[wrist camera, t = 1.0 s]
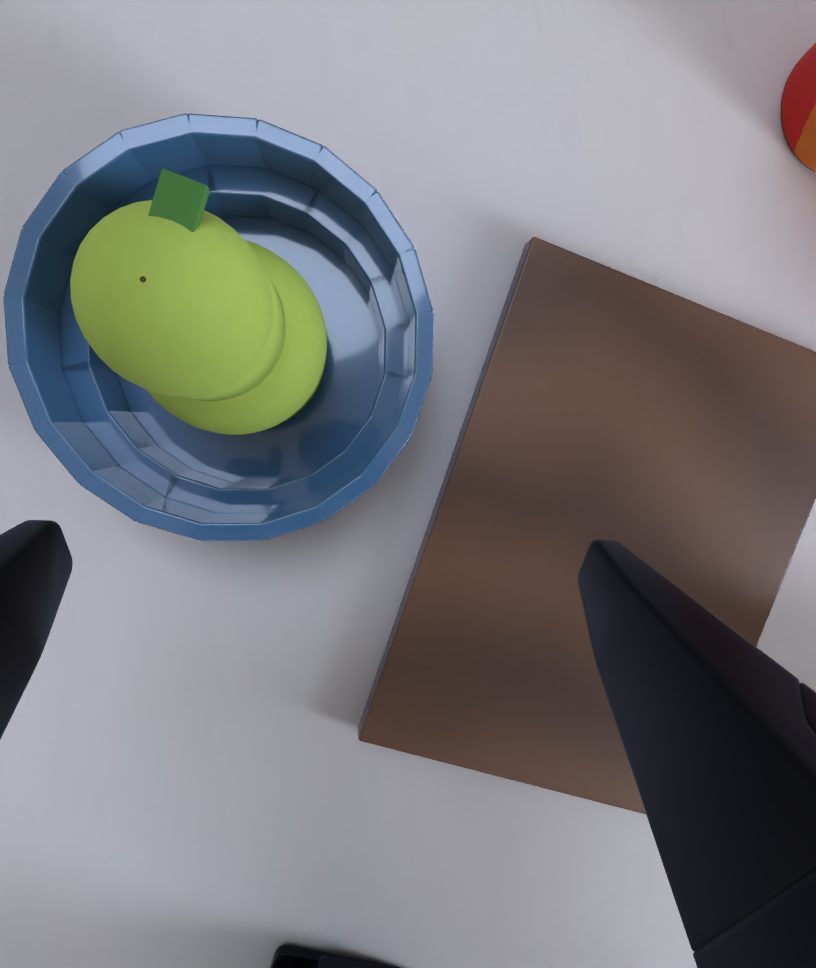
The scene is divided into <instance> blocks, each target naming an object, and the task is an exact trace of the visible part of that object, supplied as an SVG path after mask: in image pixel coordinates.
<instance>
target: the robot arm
mask: <svg viewBox="0 0 816 968" xmlns="http://www.w3.org/2000/svg"><path fill="white" fill-rule="evenodd" d="M71 571H72V557H71V554H70V551H69V549H68V546H67V543H66V541H65V538H64V535H63V533H62V530H61V528H60V526H59V525H58V524H57V523H56V522H54V521H45V520H28V521H25V522H23V523H21V524H19V525H17V526H15V527H14V528H12V529H10V530H8V531H6V532H5V533H3V534H1V535H0V739H1V737H2V735H3V733H4V731H5V729H6V727H7V725H8V723H9V721H10V719H11V717H12V715H13V712H14V710H15V708H16V706H17V704H18V702H19V700H20V698H21V696H22V694H23V692H24V690H25V688H26V686H27V684H28V682H29V680H30V678H31V676H32V674H33V672H34V670H35V668H36V665H37V663H38V661H39V659H40V657H41V654H42V652H43V649H44V647H45V644H46V642H47V639H48V636H49V633H50V630H51V627H52V625H53V622H54V619H55V616H56V613H57V611H58V608H59V605H60V602H61V599H62V597H63V594H64V591H65V588H66V585H67V582H68V580H69V577H70V574H71ZM578 584H579V589H580V594H581V599H582V603H583V608H584V613H585V617H586V622H587V627H588V631H589V636H590V640H591V645H592V650H593V654H594V658H595V662H596V665H597V668H598V671H599V674H600V677H601V680H602V683H603V686H604V689H605V692H606V695H607V698H608V701H609V704H610V707H611V710H612V713H613V716H614V719H615V722H616V725H617V728H618V731H619V734H620V737H621V740H622V743H623V746H624V749H625V752H626V755H627V758H628V761H629V764H630V767H631V770H632V773H633V776H634V779H635V782H636V785H637V788H638V791H639V794H640V797H641V800H642V803H643V806H644V809H645V812H646V815H647V818H648V820H649V823H650V826H651V829H652V832H653V835H654V838H655V841H656V844H657V847H658V850H659V853H660V856H661V859H662V862H663V865H664V868H665V871H666V874H667V877H668V880H669V883H670V886H671V889H672V892H673V895H674V898H675V901H676V904H677V907H678V910H679V913H680V916H681V919H682V922H683V925H684V928H685V931H686V934H687V937H688V940H689V943H690V946H691V948H692V950H693V951H694V953H693V956H694V959H695V962H696V965H697V968H816V692H815V691H813V690H812V689H811V688H809V687H808V686H807V685H805V684H804V683H799V680H798V679H797V678H796V677H795V676H793V675H792V674H791V673H790V672H788V671H787V670H786V669H784V668H783V667H782V666H780V665H779V664H778V663H777V662H775V661H774V660H773V659H771V658H770V657H769V656H767V655H766V654H765V653H763V652H762V651H761V650H760V649H758V648H757V647H756V646H754V645H753V644H752V643H750V642H749V641H748V640H746V639H745V638H744V637H743V636H741V635H740V634H739V633H737V632H736V631H735V630H733V629H732V628H731V627H729V626H728V625H727V624H726V623H724V622H723V621H722V620H720V619H719V618H718V617H716V616H715V615H714V614H712V613H711V612H710V611H709V610H707V609H706V608H705V607H703V606H702V605H701V604H699V603H698V602H697V601H696V600H694V599H693V598H692V597H690V596H689V595H688V594H686V593H685V592H684V591H682V590H681V589H680V588H679V587H677V586H676V585H675V584H673V583H672V582H671V581H669V580H668V579H667V578H665V577H664V576H663V575H662V574H660V573H659V572H658V571H656V570H655V569H654V568H652V567H651V566H650V565H648V564H647V563H646V562H645V561H643V560H642V559H641V558H639V557H638V556H637V555H635V554H634V553H633V552H631V551H630V550H629V549H628V548H626V547H625V546H624V545H622V544H621V543H620V542H618V541H616V540H602V539H597V540H594V541H592V543H591V544H590V546H589V548H588V550H587V553H586V555H585V558H584V560H583V563H582V565H581V568H580V570H579V574H578ZM282 959H287V960H282ZM270 968H398V967H393V966H388V965H383V964H378V963H373V962H368V961H363V960H358V959H353V958H348V957H343V956H338V955H333V954H328V953H323V952H318V951H313V950H308V949H303V948H298V947H293V946H282V947H280V948H278V949H277V950H276V952H275V954H274V957H273V960H272V963H271V966H270Z"/></svg>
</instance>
